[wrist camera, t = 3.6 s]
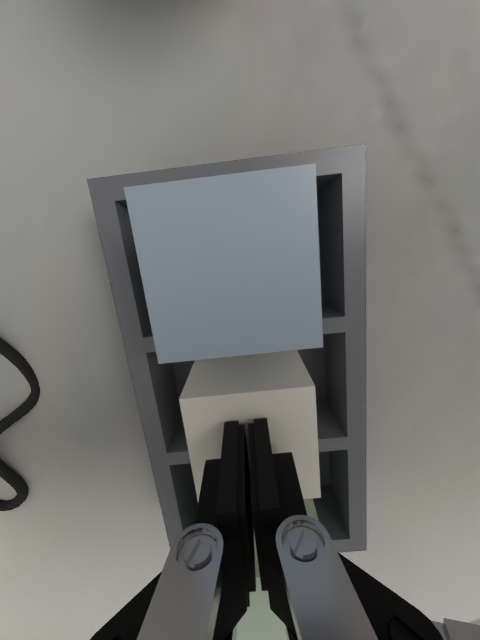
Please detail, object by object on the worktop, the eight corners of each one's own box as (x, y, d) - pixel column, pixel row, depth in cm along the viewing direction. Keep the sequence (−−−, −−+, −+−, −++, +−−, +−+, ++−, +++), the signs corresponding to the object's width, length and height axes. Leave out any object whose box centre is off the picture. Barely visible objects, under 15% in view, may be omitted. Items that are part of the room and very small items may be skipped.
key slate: (283, 198, 13) (315, 163, 7) (290, 305, 14) (323, 347, 9) (175, 211, 13) (123, 187, 8) (191, 316, 15) (158, 364, 9)
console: (330, 172, 17) (365, 143, 12) (339, 484, 23) (366, 550, 18) (130, 197, 17) (87, 179, 13) (188, 497, 23) (173, 564, 18)
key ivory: (289, 335, 16) (315, 385, 10) (294, 413, 18) (321, 497, 12) (201, 344, 16) (179, 399, 11) (213, 421, 18) (198, 507, 12)
